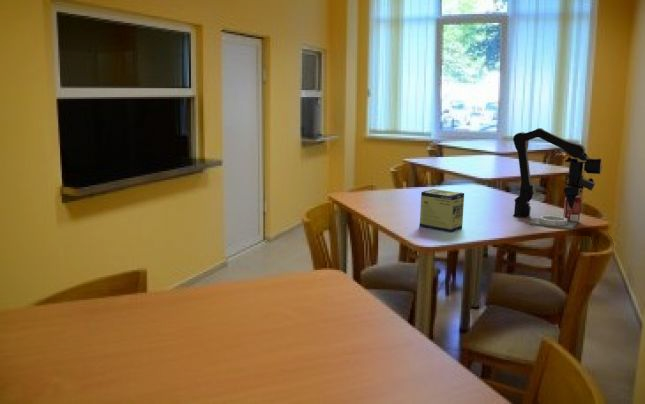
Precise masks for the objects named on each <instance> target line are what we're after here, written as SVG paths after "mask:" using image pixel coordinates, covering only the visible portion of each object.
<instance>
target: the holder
mask: <svg viewBox="0 0 645 404" xmlns="http://www.w3.org/2000/svg"><path fill="white" fill-rule="evenodd" d="M577 223H578V222H567V218H564V217H563V216H557V215H541V216H539V217H534V218H532V220H531V221H530V222H529V223H528V224H529V225H532V226H540V227H547V228H555V229H556V228H557V229H564V230H572V231H573V230H574V228H575V227H576V226H577Z"/></svg>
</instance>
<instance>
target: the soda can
mask: <svg viewBox="0 0 645 404" xmlns="http://www.w3.org/2000/svg"><path fill="white" fill-rule="evenodd" d="M581 205H582V199H581V196H580V195H577V196H576V197H575V201H574V204H573V207H572V208H570V207H569V204H568V201H567V198H566V197H565V198H564V208H563V216H562V217H564V218H567V222H576V223H578V222H580V215H581Z"/></svg>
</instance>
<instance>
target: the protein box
mask: <svg viewBox="0 0 645 404" xmlns="http://www.w3.org/2000/svg"><path fill="white" fill-rule="evenodd" d="M464 201H465V192H457V191H449V190H442V189H429V190H424V191H421V194H420V213H419V215H420V216H419V228H425V229H429V228H430V230H435V231H441V232H446V233H453V232H456V231H458V230H462V229H463V223H464V222H463V219H464Z"/></svg>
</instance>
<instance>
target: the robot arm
mask: <svg viewBox="0 0 645 404" xmlns="http://www.w3.org/2000/svg"><path fill="white" fill-rule="evenodd" d="M537 138H540V139H541V140H543V141H546V142H547V143H550V144H552V145H553V146H556V147H557V148H559V149H562V150H563V151H564V152H565V153H566V154H568V155H569V156H568V157H567V159H565V160H564V162H565V163H568V164H569V166H568V174H567V183H566V186H565V187H564V188H563V194H564V195H565V198H567V201H568V204H569V207H570V208H572V207H573V204H574V201H575V197H576V196H577V195H578V196H580V194H581V193H582V192H583V190H584V188H585V189H587V190H588V191H590V192H591V191H593V189H594V187H595V185H596V182H594V181H595V180H594V178H592V177H590V178H588V179H587V178H585V177H584V175H583V171H584V172H585V173H586V174H593V175H601V172H602V158H590V157H589V156H588V155H587V153H586V149H585V148H586V147H585V146H584V145H583V144H581V143H576V142H573V141H568V140H565V139H564V138H561V137H560V136H558V135H555V134H553V133H552V132H549V131H547V130H545V129H543V128H542V127H541V128H540V127H538V128H536V129H534V130H532V131H528V132H523V131H522V132H518V133H516V134H515V135H514V136H513V140H512V141H513V144H514V148H515V149H516V152H517V154H518V155H517V156H518V157H517V158H518V167H519V174H520V188H519V196H517V197H516V198H514V211H513V215H512V216H513V217H519V218H528V217H530V215H531V209H532V208H531V207H532V206H531V203H530V202H531V201H532V199H534V198H535V197H536V193H537V190H536V183H533V182H532V180H531V172H530V163H529V155H528V149H529V141H530V140H534V139H537Z"/></svg>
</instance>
